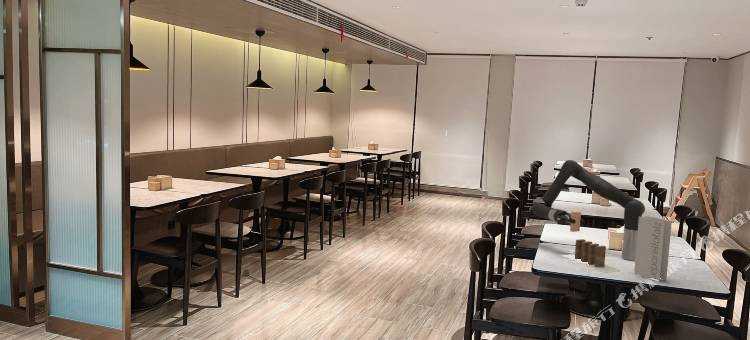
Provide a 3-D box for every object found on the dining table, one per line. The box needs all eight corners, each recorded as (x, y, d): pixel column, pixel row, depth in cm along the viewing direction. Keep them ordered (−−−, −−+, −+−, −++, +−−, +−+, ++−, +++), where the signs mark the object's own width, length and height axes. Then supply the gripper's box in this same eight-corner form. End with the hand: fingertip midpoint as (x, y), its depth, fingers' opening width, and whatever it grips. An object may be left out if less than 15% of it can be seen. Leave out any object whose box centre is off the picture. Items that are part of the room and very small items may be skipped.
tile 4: (587, 263, 304) (589, 243, 303) (594, 263, 306) (596, 243, 305) (590, 264, 302) (591, 244, 301) (597, 264, 304) (599, 244, 303)
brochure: (634, 274, 289) (638, 216, 286) (641, 273, 291) (646, 215, 288) (659, 282, 276) (664, 221, 273) (666, 280, 279) (671, 221, 276)
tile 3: (580, 261, 309) (582, 241, 307) (588, 260, 311) (589, 241, 309) (583, 262, 307) (585, 242, 306) (590, 261, 309) (592, 242, 308)
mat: (558, 255, 321) (558, 255, 321) (573, 254, 326) (573, 253, 325) (605, 273, 288) (605, 272, 288) (621, 271, 292) (622, 270, 292)
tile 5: (594, 266, 299) (595, 246, 298) (601, 265, 301) (603, 245, 300) (597, 267, 298) (598, 247, 296) (604, 266, 300) (606, 246, 298)
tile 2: (574, 259, 313) (575, 239, 312) (581, 258, 315) (583, 239, 314) (577, 260, 311) (578, 240, 310) (584, 259, 313) (585, 240, 312)
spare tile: (569, 231, 316) (571, 211, 315) (577, 230, 318) (578, 211, 317) (572, 231, 314) (573, 212, 313) (579, 231, 316) (581, 212, 315)
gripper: (548, 209, 326) (569, 215, 310) (568, 208, 331) (589, 214, 315) (547, 222, 326) (568, 228, 311) (567, 221, 332) (588, 227, 316)
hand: (578, 221), depth 313 cm, fingers closed on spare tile, 5 cm apart
